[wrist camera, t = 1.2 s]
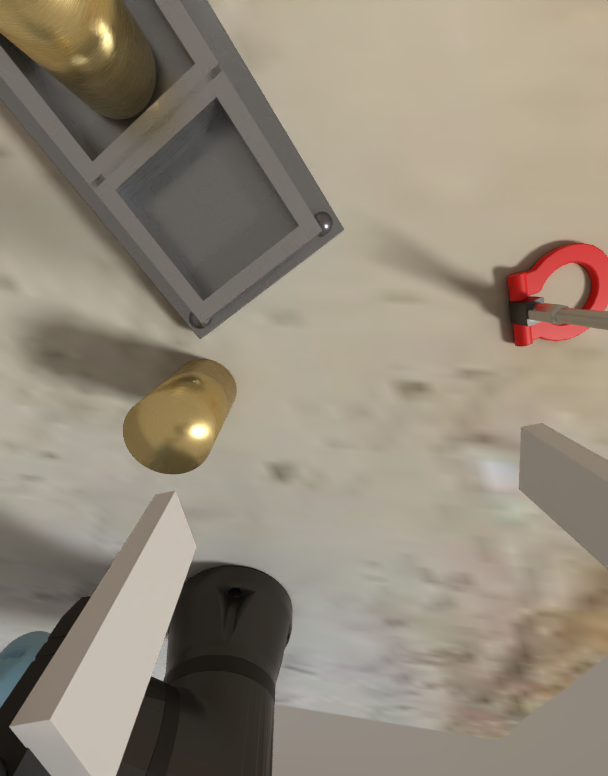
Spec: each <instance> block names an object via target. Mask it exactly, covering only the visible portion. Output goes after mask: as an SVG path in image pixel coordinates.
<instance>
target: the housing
mask: <svg viewBox="0 0 608 776" xmlns="http://www.w3.org/2000/svg"><path fill="white" fill-rule="evenodd" d="M0 99H1V100H2V101H3V103H4V104H5V105H6V106H7V107H8V109H9V110H10V111H11V112H12V113H13V115H14V116H15V117H16V118H17V120H18V121H19V122H20V123H21V124H22V126H23V127H24V128H25V129H26V130H27V132H28V133H29V134H30V135H31V136H32V138H33V139H34V140H35V141H36V142H37V144H38V145H39V146H40V147H41V148H42V150H43V151H44V152H45V153H46V154H47V156H48V157H49V158H50V159H51V160H52V162H53V163H54V164H55V165H56V166H57V168H58V169H59V170H60V171H61V173H62V174H63V175H64V176H65V177H66V179H67V180H68V181H69V182H70V183H71V185H72V186H73V187H74V188H75V189H76V191H77V192H78V193H79V194H80V195H81V197H82V198H83V199H84V200H85V201H86V203H87V204H88V205H89V206H90V207H91V209H92V210H93V211H94V212H95V213H96V215H97V216H98V217H99V218H100V220H101V221H102V222H103V223H104V224H105V226H106V227H107V228H108V229H109V230H110V232H111V233H112V234H113V235H114V236H115V238H116V239H117V240H118V241H119V242H120V244H121V245H122V246H123V247H124V248H125V250H126V251H127V252H128V253H129V254H130V256H131V257H132V258H133V259H134V260H135V262H136V263H137V264H138V265H139V266H140V268H141V269H142V270H143V271H144V273H145V274H146V275H147V276H148V277H149V279H150V280H151V281H152V282H153V283H154V285H155V286H156V287H157V288H158V289H159V291H160V292H161V293H162V294H163V295H164V297H165V298H166V299H167V300H168V301H169V303H170V304H171V305H172V306H173V307H174V309H175V310H176V311H177V312H178V313H179V315H180V316H181V317H182V318H183V320H184V321H185V322H186V323H187V324H188V326H189V327H190V328H191V329H192V330H193V332H194V333H195V334H196V335H197V336H198V338H199V339H201V338H202V337H204V336H205V335H207V334H208V333H209V332H211V331H212V330H213V329H215V328H216V327H217V326H219V325H220V324H221V323H223V322H224V321H225V320H227V319H228V318H229V317H230V316H232V315H233V314H234V313H236V312H237V311H238V310H240V309H241V308H242V307H244V306H245V305H246V304H248V303H249V302H250V301H251V300H253V299H254V298H255V297H257V296H258V295H259V294H261V293H262V292H263V291H265V290H266V289H267V288H269V287H270V286H271V285H272V284H274V283H275V282H276V281H278V280H279V279H280V278H282V277H283V276H284V275H286V274H287V273H288V272H290V271H291V270H292V269H293V268H295V267H296V266H297V265H299V264H300V263H301V262H303V261H304V260H305V259H307V258H308V257H309V256H311V255H312V254H313V253H314V252H316V251H317V250H318V249H320V248H321V247H322V246H324V245H325V244H326V243H328V242H329V241H330V240H332V239H333V238H334V237H336V236H337V235H338V234H339V233H341V232H342V231H343V230H344V228H343V227H342V225H341V223H340V222H339V220H338V218H337V217H336V215H335V213H334V212H333V210H332V208H331V207H330V205H329V203H328V202H327V200H326V198H325V197H324V195H323V193H322V192H321V190H320V188H319V187H318V185H317V183H316V181H315V180H314V178H313V176H312V175H311V173H310V171H309V170H308V168H307V166H306V165H305V163H304V161H303V160H302V158H301V156H300V155H299V153H298V151H297V150H296V148H295V146H294V145H293V143H292V141H291V140H290V138H289V136H288V135H287V133H286V131H285V130H284V128H283V126H282V125H281V123H280V121H279V120H278V118H277V116H276V115H275V113H274V111H273V110H272V108H271V106H270V105H269V103H268V101H267V100H266V98H265V96H264V95H263V93H262V91H261V90H260V88H259V86H258V85H257V83H256V81H255V80H254V78H253V76H252V75H251V73H250V71H249V70H248V68H247V66H246V65H245V63H244V61H243V60H242V58H241V56H240V55H239V53H238V51H237V49H236V48H235V46H234V44H233V43H232V41H231V39H230V38H229V36H228V34H227V33H226V31H225V29H224V28H223V26H222V24H221V23H220V21H219V19H218V18H217V16H216V14H215V13H214V11H213V9H212V8H211V6H210V4H209V3H208V1H207V0H0Z"/></svg>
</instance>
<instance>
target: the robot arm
mask: <svg viewBox="0 0 608 776" xmlns="http://www.w3.org/2000/svg"><path fill="white" fill-rule="evenodd" d="M519 489H520V490H521V491H522V492H523V493H524V494H525V495H526V496H527V497H528V498H530V499H531V500H532V501H533V502H534V503H535V504H536V505H537V506H538V507H539V508H541V509H542V510H543V511H544V512H545V513H546V514H547V515H548V516H549V517H551V518H552V519H553V520H554V521H555V522H556V523H557V524H558V525H559V526H560V527H562V528H563V529H564V530H565V531H566V532H567V533H568V534H569V535H570V536H571V537H573V538H574V539H575V540H576V541H577V542H578V543H579V544H580V545H581V546H582V547H584V548H585V549H586V550H587V551H588V552H589V553H590V554H591V555H592V556H594V557H595V558H596V559H597V560H598V561H599V562H600V563H601V564H602V565H603V566H605V567H606V568H607V569H608V460H606V459H605V458H603V457H601V456H599V455H598V454H596V453H594V452H592V451H590V450H589V449H587V448H585V447H583V446H582V445H580V444H578V443H576V442H574V441H573V440H571V439H569V438H567V437H566V436H564V435H562V434H560V433H558V432H557V431H555V430H553V429H551V428H550V427H548V426H546V425H544V424H542V423H540V424H534V425H529V426H524V427H521V445H520V472H519ZM195 550H196V545H195V542H194V539H193V537H192V534H191V531H190V529H189V526H188V523H187V521H186V518H185V515H184V513H183V510H182V507H181V505H180V502H179V499H178V497H177V494H176V491H173V492H167V493H162V494H156V495H155V496H154V498H153V500H152V501H151V503H150V504H149V506H148V507H147V509H146V511H145V512H144V514H143V515H142V517H141V519H140V520H139V522H138V523H137V525H136V526H135V528H134V530H133V531H132V533H131V534H130V536H129V538H128V539H127V541H126V542H125V544H124V545H123V547H122V549H121V550H120V552H119V553H118V555H117V557H116V558H115V560H114V561H113V563H112V564H111V566H110V568H109V569H108V571H107V572H106V574H105V576H104V577H103V579H102V580H101V582H100V583H99V585H98V587H97V588H96V590H95V591H94V593H93V595H92V596H88V597H83V598H81V599H80V600H79V601H78V602H77V603H76V604H75V605H74V606H73V607H72V608H71V609H70V610H69V611H68V612H67V613H66V614H65V615H64V616H63V617H62V618H61V620H60V621H59V622H58V624H57V625H56V627H55V628H54V630H53V631H52V633H51V634H50V633H47V632H43V631H35V632H30V633H27V634H24V635H22V636H20V637H18V638H17V639H15V640H14V641H12V642H11V643H10V644H9V645H8V646H7V647H5V648H4V649H3V650H2V651H1V653H0V776H272V756H273V731H274V704H275V685H276V680H277V677H278V674H279V670H280V667H281V663H282V659H283V654H284V649H285V647H286V646H287V644H288V642H289V639H290V635H291V631H292V603H291V599H290V597H289V595H288V593H287V592H286V590H285V589H284V588H283V586H282V585H281V584H280V583H279V582H277V581H276V580H275V579H273V578H272V577H270V576H268V575H267V574H265V573H262V572H260V571H257V570H254V569H250V568H245V567H235V566H227V567H218V568H213V569H209V570H206V571H203V572H201V573H199V574H197V575H195V576H193V577H192V578H190V579H189V580H188V581H187V582H185V583H184V581H185V579H186V576H187V573H188V570H189V567H190V564H191V562H192V559H193V556H194V553H195ZM167 630H168V634H169V637H168V648H167V662H166V673H165V678H164V681H161V680H158V679H156V678H154V677H152V676H151V675H152V672H153V669H154V666H155V664H156V661H157V658H158V655H159V652H160V649H161V647H162V644H163V641H164V638H165V635H166V632H167Z"/></svg>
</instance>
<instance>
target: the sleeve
mask: <svg viewBox="0 0 608 776" xmlns="http://www.w3.org/2000/svg"><path fill="white" fill-rule="evenodd" d="M235 398H236V383H235V380H234V378H233V376H232V375H231V373H230V372H229V371H228V370H227V369H226V368H225V367H224V366H223V365H221V364H219V363H217V362H215V361H212V360H207V359H199V360H194V361H191V362H189V363H187V364H186V365H184V366H183V367H182V368H181V369H179V370H178V371H177V372H176V373H174V374H173V375H172V376H171V377H169V378H168V379H167V380H166V381H164V382H163V383H162V384H161V385H159V386H158V387H157V388H156V389H154V390H153V391H152V392H151V393H149V394H148V395H147V396H146V397H144V398H143V399H142V400H141V401H140V402H138V403H137V404H136V405H135V406H134V407H132V409H131V410H130V411H129V412H128V414H127V416H126V418H125V420H124V424H123V437H124V441H125V444H126V446H127V448H128V450H129V451H130V453H131V454H132V456H133V457H134V458H135V459H136V460H137V461H138V462H140V463H141V464H142V465H144V466H145V467H147V468H149V469H151V470H153V471H156V472H160V473H164V474H181V473H186V472H189V471H191V470H193V469H195V468H197V467H198V466H200V465H201V464H202V463H203V462H204V461H205V459H206V458H207V457H208V455H209V453H210V451H211V449H212V446H213V444H214V442H215V440H216V438H217V436H218V434H219V432H220V430H221V428H222V426H223V424H224V421H225V419H226V417H227V415H228V413H229V411H230V409H231V407H232V405H233V403H234V401H235Z"/></svg>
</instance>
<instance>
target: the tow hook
mask: <svg viewBox="0 0 608 776" xmlns="http://www.w3.org/2000/svg"><path fill="white" fill-rule="evenodd" d="M572 262H573V263H578V264H580V265H582V266H583V267H585V269H586V270H587V271H588V272H589V275H590V278H591V286H592V287H591V293H590V296H589V299H588V301H587V303H586V305H585V306H584V308H583V309H576V308H569V307H568V306H564V305H558V304H547V303H544V298H543V297H531V296H529V295H532V294H535V293H538V292H540V291H541V289H542V287H543V285H544V283H545V282H546V280H547V278H548V277H549V276H550V275H551V274H552V273H553V272H554V271H555V270H556V269H558V268H559V267H561V266H563V265H565V264H568V263H572ZM507 279H508V287H509V296H510V301H509V308H510V317H511V323H513V331H514V340H515V346H527V345H530V344H532V343H533V341H532V340H534V339H537V338H541V339H545V340H552V341H560V340H567V339H570V338H572V337H575V336H578V335H579V334H581V333H582V332H584V331H585V330H587V329H588V328H590V327H591V328H598V329H605V330H608V311H604V310H605V308H606V307H607V304H608V257H607V256H606V254H605V253H604V252H603V251H602V250H600V249H599V248H597V247H595V246H594V245H589V244H584V243H580V244H571V245H564V246H561V247H559V248H556V249H554V250H551V251H550V252H549V253H547V254H546V255H544V256H543V257H542V258H540V259H539V260H538V262H537V263H536V264H535V265H534V266H533V267H532V268H531V269H530V270H529V271H527V272H518V273H514V274H511V275H509V276H507Z"/></svg>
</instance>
